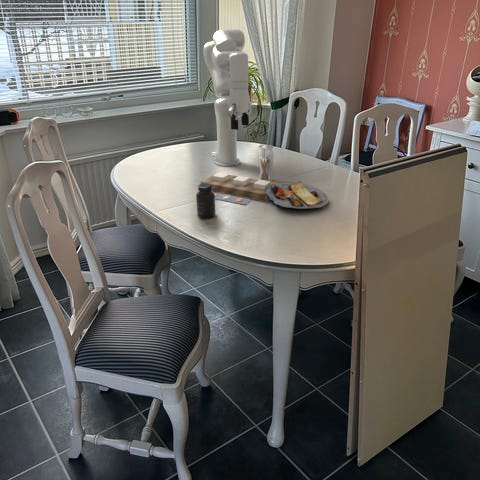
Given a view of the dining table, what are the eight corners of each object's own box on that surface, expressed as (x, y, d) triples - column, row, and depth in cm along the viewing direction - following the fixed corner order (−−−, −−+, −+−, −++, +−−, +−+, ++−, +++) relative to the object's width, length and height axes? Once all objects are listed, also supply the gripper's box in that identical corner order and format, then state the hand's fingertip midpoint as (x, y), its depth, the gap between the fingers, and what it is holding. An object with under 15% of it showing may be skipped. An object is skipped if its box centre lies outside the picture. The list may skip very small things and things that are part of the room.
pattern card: (202, 196, 192) (202, 195, 192) (209, 192, 196) (209, 191, 196) (245, 205, 183) (245, 204, 183) (251, 201, 187) (251, 199, 187)
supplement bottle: (206, 210, 179) (204, 180, 174) (219, 215, 175) (218, 184, 170) (193, 216, 175) (191, 185, 169) (206, 220, 171) (205, 190, 165)
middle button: (232, 186, 197) (232, 179, 196) (239, 182, 201) (238, 175, 200) (243, 188, 195) (243, 181, 194) (249, 184, 199) (249, 177, 198)
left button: (212, 182, 202) (212, 175, 200) (219, 178, 206) (219, 172, 204) (223, 184, 199) (223, 177, 198) (229, 180, 204) (229, 174, 202)
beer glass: (272, 182, 207) (273, 149, 200) (256, 181, 208) (257, 148, 202) (274, 177, 213) (275, 144, 207) (259, 176, 215) (259, 144, 208)
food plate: (257, 188, 193) (258, 180, 191) (308, 184, 200) (309, 177, 199) (281, 216, 173) (282, 207, 171) (336, 211, 180) (338, 203, 179)
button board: (200, 188, 201) (200, 181, 199) (218, 179, 212) (218, 172, 210) (267, 201, 187) (267, 194, 185) (282, 190, 197) (282, 184, 196)
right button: (253, 190, 193) (253, 183, 192) (259, 186, 197) (259, 179, 196) (264, 192, 191) (265, 185, 189) (270, 188, 195) (270, 181, 193)
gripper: (240, 82, 200) (241, 123, 207) (221, 87, 186) (222, 130, 193) (256, 83, 197) (256, 124, 204) (237, 88, 183) (238, 131, 190)
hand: (240, 127), depth 199 cm, fingers open, 9 cm apart
